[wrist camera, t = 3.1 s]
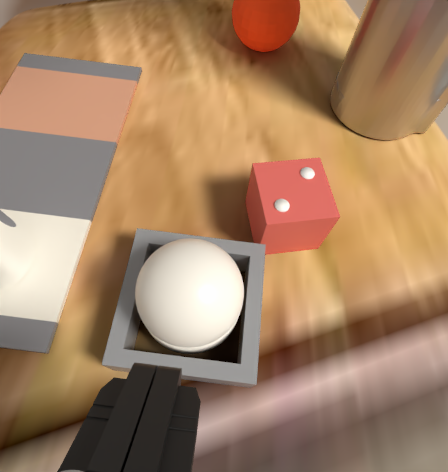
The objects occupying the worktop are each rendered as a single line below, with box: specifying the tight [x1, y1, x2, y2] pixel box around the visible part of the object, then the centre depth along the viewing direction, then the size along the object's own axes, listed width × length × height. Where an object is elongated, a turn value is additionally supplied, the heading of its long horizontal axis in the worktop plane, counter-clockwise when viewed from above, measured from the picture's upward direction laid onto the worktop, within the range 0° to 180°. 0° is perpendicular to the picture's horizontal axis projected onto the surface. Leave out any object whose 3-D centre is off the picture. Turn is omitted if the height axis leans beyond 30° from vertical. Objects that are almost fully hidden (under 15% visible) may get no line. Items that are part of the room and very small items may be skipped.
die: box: [245, 158, 340, 255], centre depth 26 cm, size 5×5×5 cm
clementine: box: [232, 0, 300, 52], centre depth 36 cm, size 8×7×7 cm
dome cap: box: [135, 238, 244, 354], centre depth 21 cm, size 6×6×6 cm
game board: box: [0, 53, 142, 354], centre depth 29 cm, size 12×28×1 cm, turn 173°
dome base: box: [102, 228, 266, 388], centre depth 23 cm, size 9×9×3 cm
